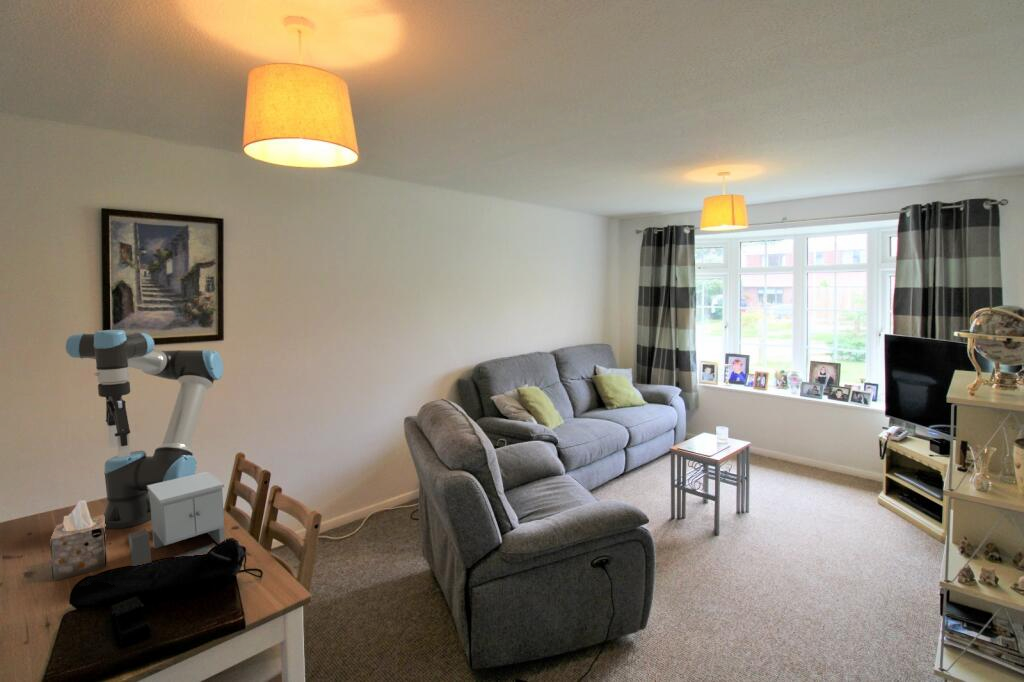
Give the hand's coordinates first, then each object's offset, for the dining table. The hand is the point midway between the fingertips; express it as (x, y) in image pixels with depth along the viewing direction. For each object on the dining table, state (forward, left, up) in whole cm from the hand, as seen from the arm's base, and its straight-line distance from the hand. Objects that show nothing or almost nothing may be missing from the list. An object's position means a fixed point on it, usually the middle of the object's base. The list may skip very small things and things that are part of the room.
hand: (119, 451), depth 154 cm
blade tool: (+19, +8, -32) cm, 38 cm away
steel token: (+23, +14, -32) cm, 42 cm away
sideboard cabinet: (+11, +14, -32) cm, 36 cm away
